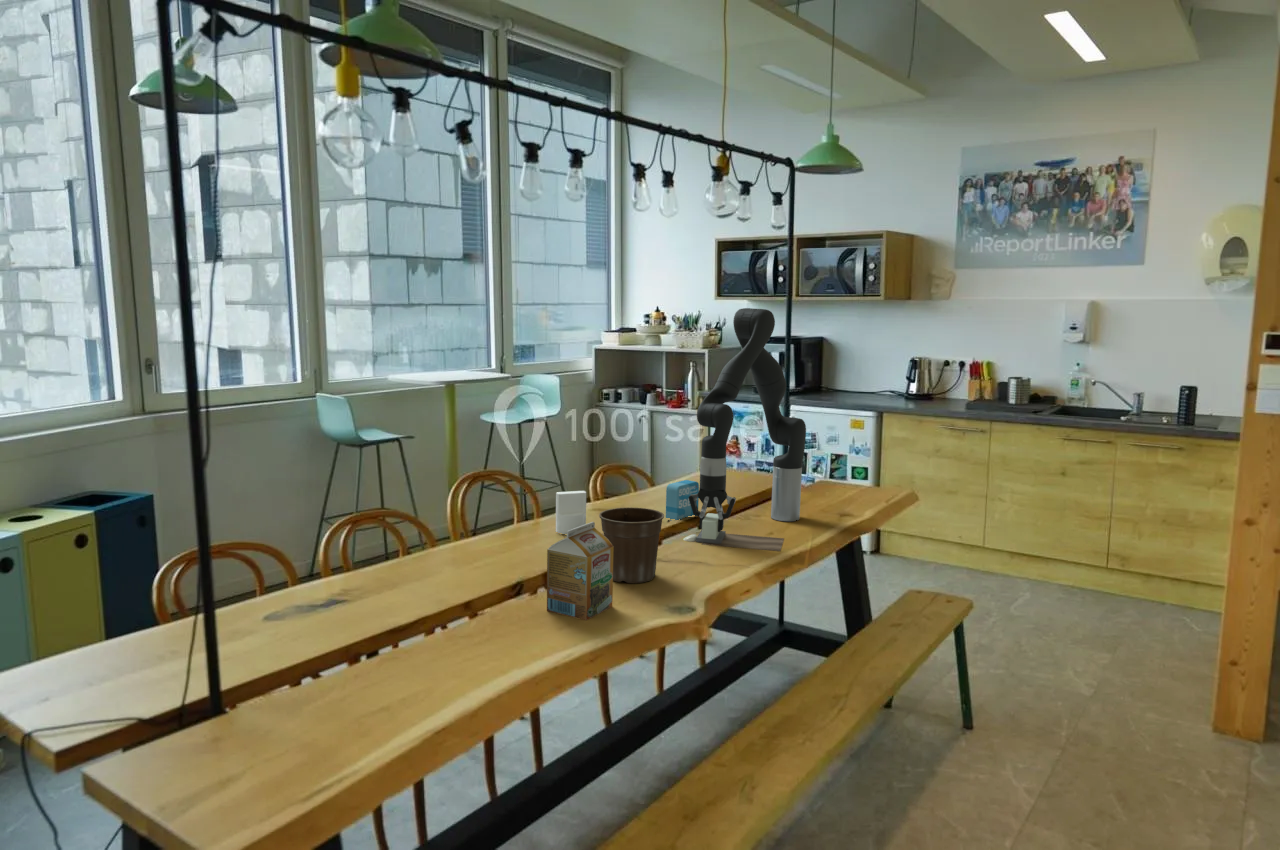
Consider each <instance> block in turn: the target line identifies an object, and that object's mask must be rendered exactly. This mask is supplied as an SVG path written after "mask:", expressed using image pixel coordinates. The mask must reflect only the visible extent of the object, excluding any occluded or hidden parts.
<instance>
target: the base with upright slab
mask: <svg viewBox="0 0 1280 850" xmlns="http://www.w3.org/2000/svg"><path fill="white" fill-rule="evenodd" d="M585 524H587V491H586V490H572V491H571V490H570V491H558V492H555V532H558V533H562V534H567V531H569V530H571V529H574V528H577V527H580V526H582V525H585ZM558 533H557V534H558Z"/></svg>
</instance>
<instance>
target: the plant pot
mask: <svg viewBox="0 0 1280 850" xmlns="http://www.w3.org/2000/svg"><path fill="white" fill-rule="evenodd" d="M598 516H599V518H600V522H601V530H602V532H603V535H604V536H605V537H606V538H607V539H608V540H609V541H610V542H611V544H612V545H613V546H614V547H613V582H617V583H621V582H626V583H627V584H642V583H646V582H649V581H652V580H653V579H654V578H655V577H656V570H657V569H656V568H657V560H658V559H657V558H658V550H659V549H658V548H659V541H660V533H661V531H662V523H663V519H664V518H665V514H664V513H663V512H661V511H660V510H658V509H657V510H656V509H654V508H653V509H652V508H646V507H615V508H611V509H605V510H603V511H601V512H599V514H598Z"/></svg>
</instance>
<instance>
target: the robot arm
mask: <svg viewBox="0 0 1280 850" xmlns="http://www.w3.org/2000/svg"><path fill="white" fill-rule="evenodd" d="M775 323H776V320H775V316H774V313H773V312H772V311H771V310H769V309H764V308H750V307H749V308H748V307H745V308H739V309H738V310H737V311H735V313H734V316H733V324H732V325H733V329H734V330H733V331H734V333H735V336H736V338H737V342H738V343H739V345H740V347H741V350H740V351H738V353H737V354H736V355H734V356H733V357H732V358H730V359H729V361H728V362H727V363H726V364H725V365H724V366H723V368H722V370H721V372H720V373H719V376H718V377H717V378H718V379H717V381H715V382H716V383H715V385H714V387H713V388H711V390H710V391H709V393H708V394H707V395H706V396H705V397H704V398H703V400H702V401H701V402H700V404H699V406H698V408H697V411H696V420H697V422H698V424H699V425H700V426H702V427H707V428H712V429H714V432H713V434H711V435H706V436H703V438H702V439H701V451H700V453H701V458H700V465H699V492H698V494H694V495H693V494H691V495H690V496H689V501H690V504H691V508H692V511H693V514H694V515H695V516H697V517H698V518H699V529H701V530H702V521H703V519H704V518H705V516H706V513H707V510H708V509H707V508H713V509H716V514H718V517H719V519H718V532H721V531H723V529H724V523H725V522H724V520H725V519H729V517H730V516H731V515H732V511H733V508H734V506H735V503H736V501H737V498H736V497H735V496H733V497H732V496H730V495H728V493H727V466H728V465H727V442H728V439H729V436H730V432H731V430H732V426H733V424H734V411H733V408H731V406H730V405H728V404H726V403H730V402H732V401H735V400H736V398H737V397H738V395H739V393H740V390H741V389H742V386H743V383H744V381H745V379H746V377H747V376H748V373H749V371H751V374H752V377H753V382H754V384H755V387H756V391H757V393H758V395H759V398H760V402H761V406H762V408H763V412H764V413H763V414H764V416H765V420H766V426H767V431H768V434H769V437H770V440H771V442H773V443H774V444H776V445H779V446H787V447H788V450H787V452H786V453H784V454H781V455H776V456H775V457H774V458H773V463H772V482H771V483H772V486H771V487H772V488H771V509H770V518H771V519H772V520H775V521H780V522H797V521H799V520H800V514H801V494H802V473H803V472H802V471H803V461H804V457H805V445H806V437H807V426H806V422H805V421H804V420H803V419H802V418H798V417H793V416H791V417H789V416H784V415H783V414H782V412H781V407H780V405H781V402H782V401H783V398H784V396H785V394H786V390H787V381H786V377H785V375H784V371H783V368H782V366H781V364H780V362H778V361H777V359H776V358H774V356H773V355H772V354H771V353H770V352H769V351H768V350H767V349H766V348H765V346H766V345H767V343H768V342H769V340H770V338H771V337H772V335H773V334H774V333H773V332H774V330H775V326H776V324H775ZM697 497H699V501H700V502H701V503H702V506H701V509H700V510H699V506H698V507H697V504H696V501H697ZM726 500H727V501H726ZM725 501H726V502H727V505H728V507H727V509H726V512H724V510H723V506H722V505H723V503H724V502H725ZM796 520H797V521H796Z"/></svg>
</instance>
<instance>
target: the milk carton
mask: <svg viewBox="0 0 1280 850" xmlns="http://www.w3.org/2000/svg"><path fill="white" fill-rule="evenodd" d="M613 547H614V546H613V545H612V544H611V542H610V541H609V540H608V539H607V538H606V537H605V536H604V533H601V531H599V530H598V528H597V527H596V526H595V522H594V521H591V522H588V523H586V524H585V525H582V526H580V527H577V528H574V529H571V530H569V531H567V535H566V537H565V538H562V539H561V540H558V541H556V542H555V543H553V544H552V545H550V546H549V547H548V548H546V549H547V551H546V552H547V553H546V556H547V557H546V558H547V559H546V560H547V561H546V563H547V564H546V568H547V569H546V611H547V612H549V613H554V614H559V615H561V616H562V615H563V616H565V617H566V616H567V617H570V618H575V619H578V620H583V621H588V620H590V619H591V618H594V617H595V616H598V615H599V614H601V613H603V612H605V611H606V610H609V609H611V608H612V607H613V595H614V594H613V593H614V592H613V588H614V581H613Z"/></svg>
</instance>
